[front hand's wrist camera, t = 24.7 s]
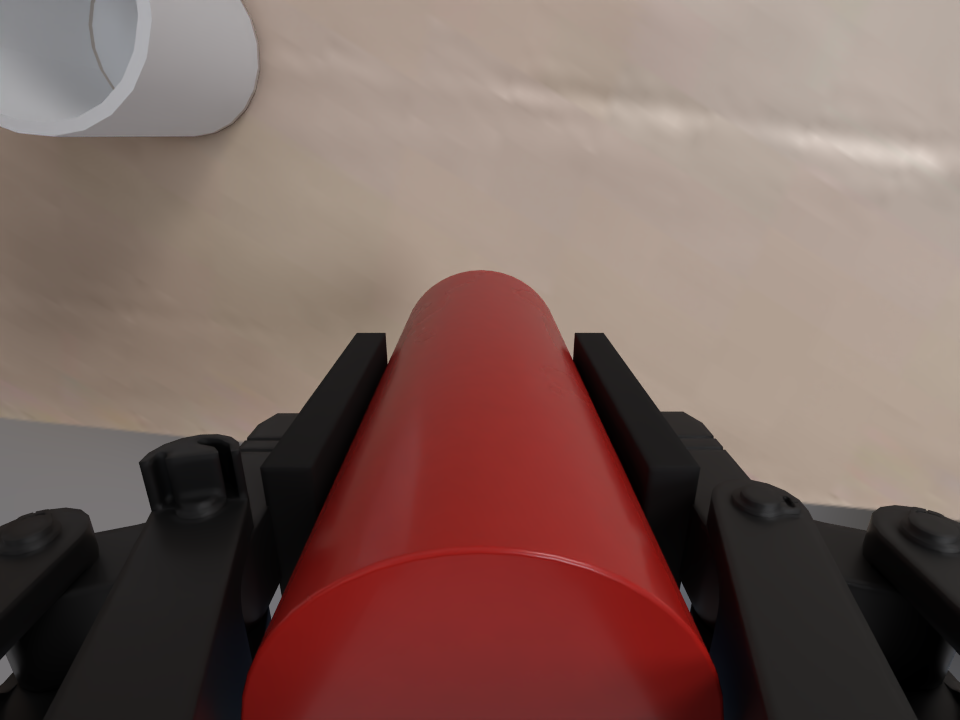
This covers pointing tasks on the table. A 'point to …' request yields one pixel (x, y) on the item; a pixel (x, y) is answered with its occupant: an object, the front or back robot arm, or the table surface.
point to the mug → (125, 66)
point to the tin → (481, 546)
